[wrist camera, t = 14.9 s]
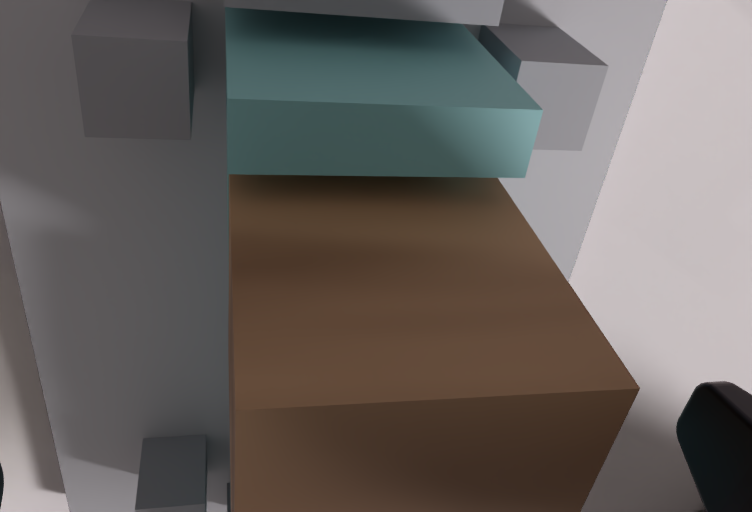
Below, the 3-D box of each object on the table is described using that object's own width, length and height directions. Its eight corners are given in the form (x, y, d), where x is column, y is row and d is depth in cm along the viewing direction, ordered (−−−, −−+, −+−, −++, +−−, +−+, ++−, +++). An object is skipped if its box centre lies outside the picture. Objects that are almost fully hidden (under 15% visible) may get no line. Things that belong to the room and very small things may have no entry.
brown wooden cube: (440, 345, 13) (537, 599, 9) (228, 352, 12) (233, 637, 8) (484, 158, 11) (640, 387, 7) (229, 151, 10) (235, 409, 6)
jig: (484, 465, 22) (517, 552, 19) (80, 498, 19) (59, 604, 17) (665, -92, 13) (770, -58, 10) (-59, -176, 10) (-148, -158, 8)
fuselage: (377, 458, 19) (410, 600, 16) (230, 470, 18) (232, 623, 15) (456, 18, 12) (543, 109, 9) (225, 2, 11) (227, 98, 8)
